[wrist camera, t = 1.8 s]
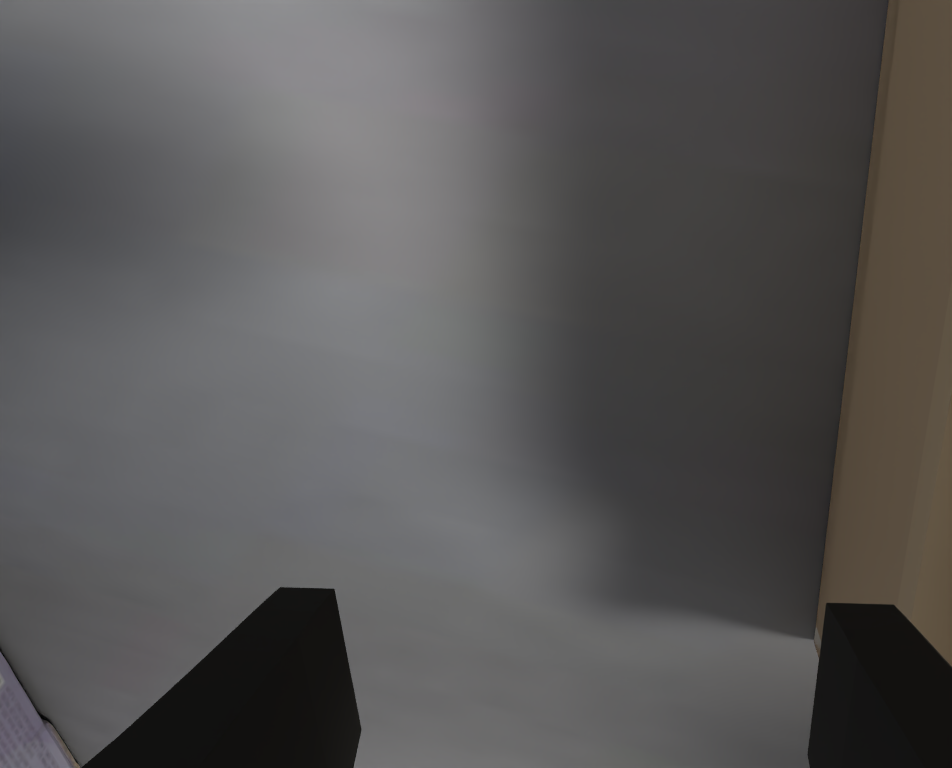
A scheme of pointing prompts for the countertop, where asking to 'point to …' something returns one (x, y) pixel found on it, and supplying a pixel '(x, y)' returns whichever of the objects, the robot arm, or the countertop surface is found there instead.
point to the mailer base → (894, 312)
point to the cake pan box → (26, 730)
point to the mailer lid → (933, 517)
